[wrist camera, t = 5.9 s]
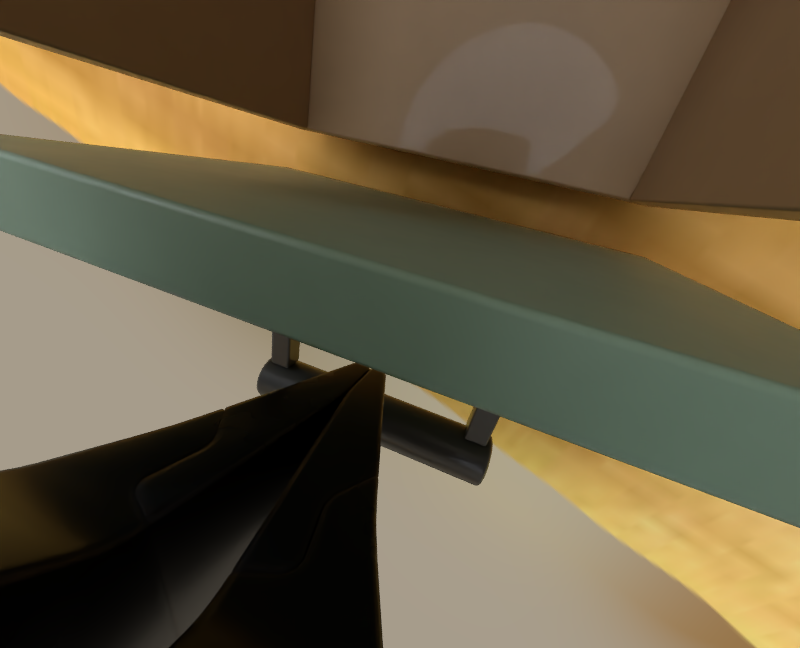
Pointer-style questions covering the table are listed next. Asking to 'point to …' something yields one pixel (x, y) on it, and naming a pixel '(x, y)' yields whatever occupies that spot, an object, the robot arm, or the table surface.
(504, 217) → the table surface
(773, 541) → the table surface
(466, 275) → the drawer
